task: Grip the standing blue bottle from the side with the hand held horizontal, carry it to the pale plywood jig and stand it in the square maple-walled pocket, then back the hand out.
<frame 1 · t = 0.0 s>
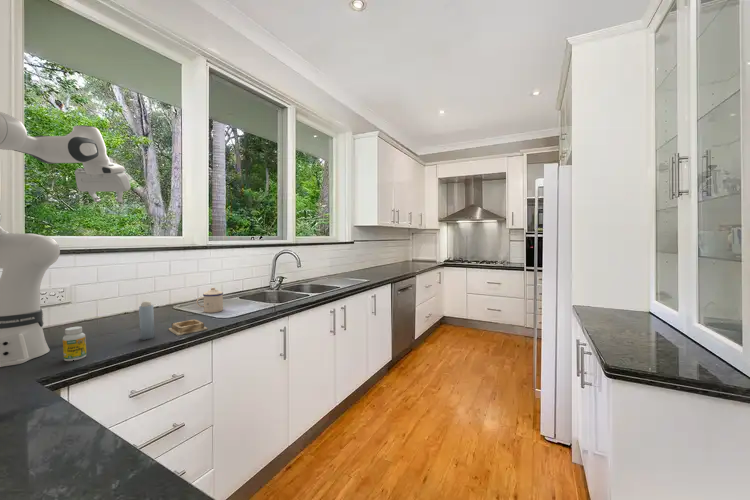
hand: (108, 201, 141), 52 cm above the table, tool tilted 20°, fingers open, 8 cm apart
blue bottle: (147, 337, 126), on the table
cradle jig: (187, 329, 136), on the table
supplement bottle: (75, 358, 106), on the table
teacup with lid: (210, 311, 168), on the table
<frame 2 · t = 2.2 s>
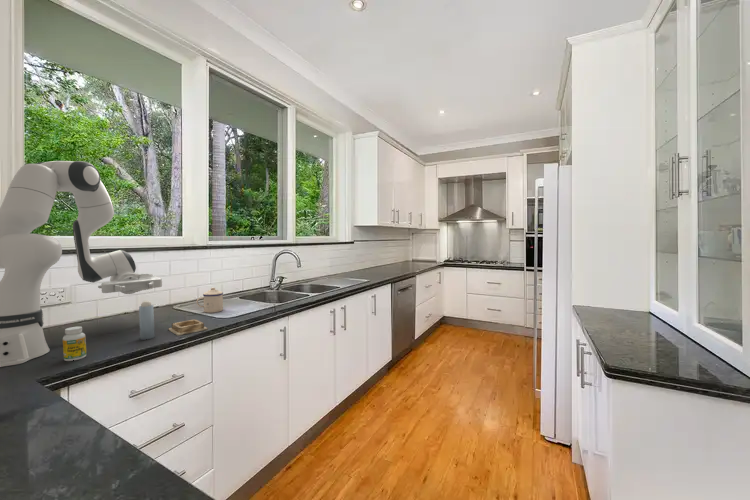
hand: (137, 287, 133), 18 cm above the table, tool horizontal, fingers open, 8 cm apart
nothing on the table moved.
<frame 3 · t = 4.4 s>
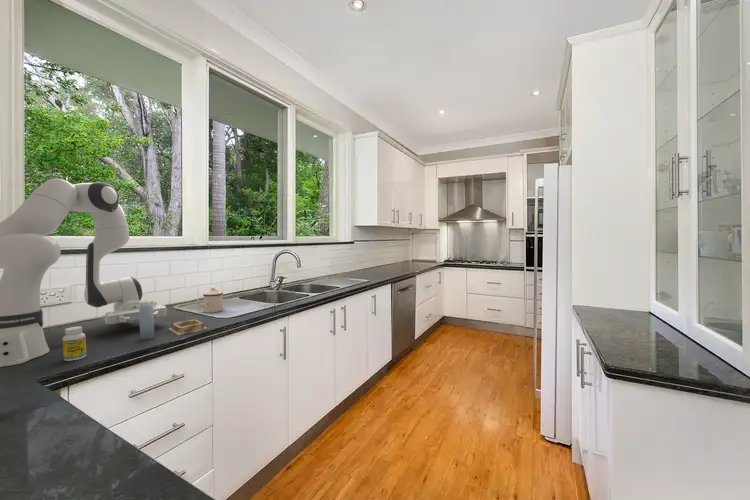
hand: (141, 317, 130), 6 cm above the table, tool horizontal, fingers open, 8 cm apart
nothing on the table moved.
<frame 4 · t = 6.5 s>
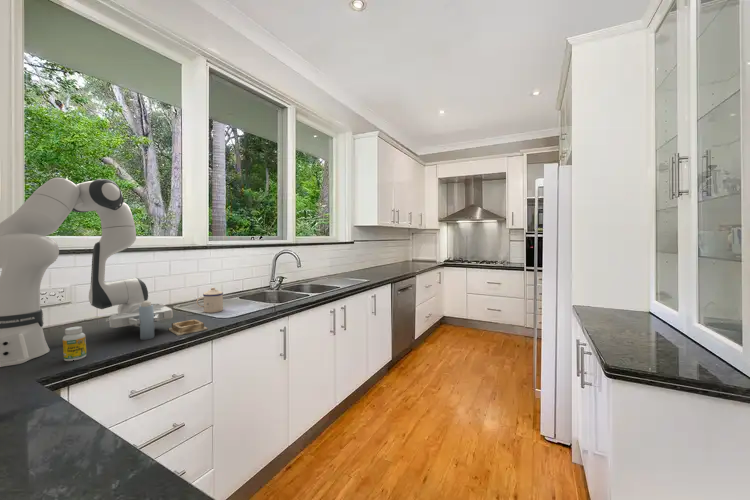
hand: (147, 320, 125), 7 cm above the table, tool horizontal, fingers closed on blue bottle, 4 cm apart
blue bottle: (147, 337, 126), on the table, touching gripper
everything else where it was.
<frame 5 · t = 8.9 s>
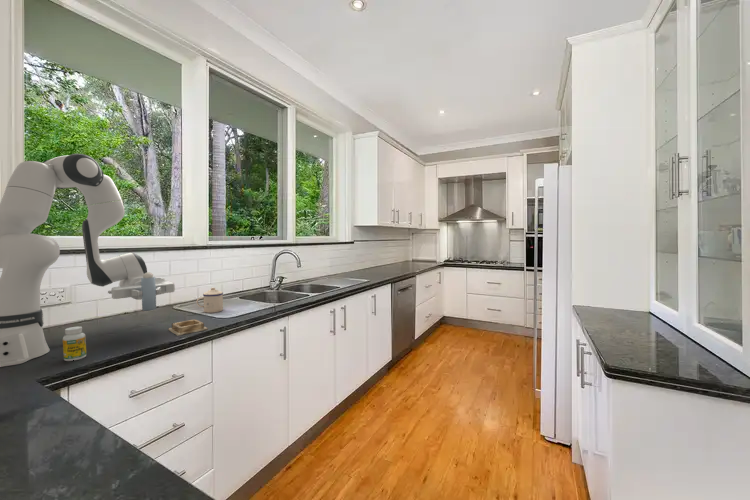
hand: (149, 292, 125), 17 cm above the table, tool horizontal, fingers closed on blue bottle, 4 cm apart
blue bottle: (149, 309, 126), point 10 cm above the table, touching gripper
everything else where it was.
when the fingers open (8 cm above the table, at t = 11.7 s): blue bottle drops 1 cm, resting on cradle jig.
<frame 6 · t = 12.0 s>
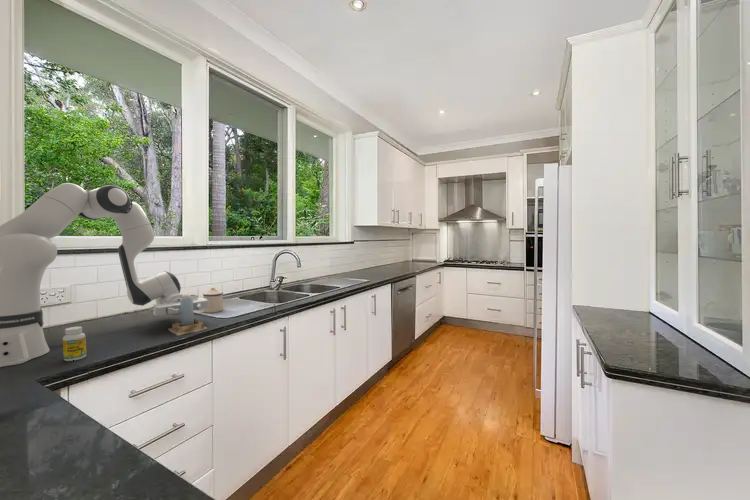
hand: (188, 309, 135), 8 cm above the table, tool horizontal, fingers open, 7 cm apart
blue bottle: (187, 328, 136), point 1 cm above the table, touching cradle jig
everything else where it was.
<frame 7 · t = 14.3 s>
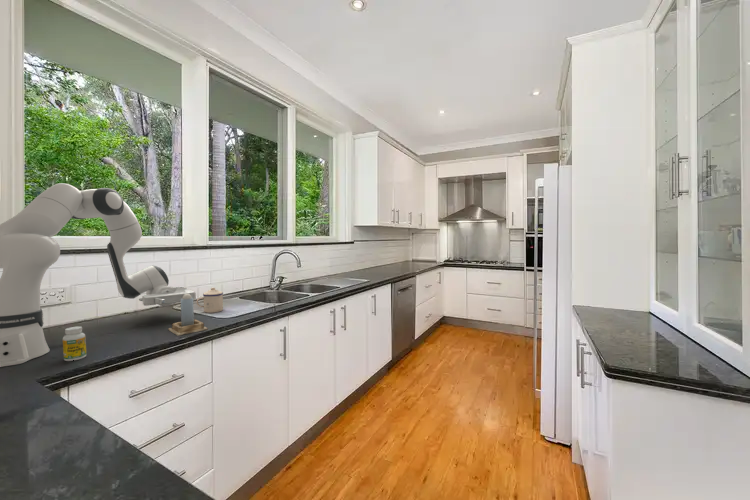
hand: (175, 300, 143), 10 cm above the table, tool horizontal, fingers open, 8 cm apart
nothing on the table moved.
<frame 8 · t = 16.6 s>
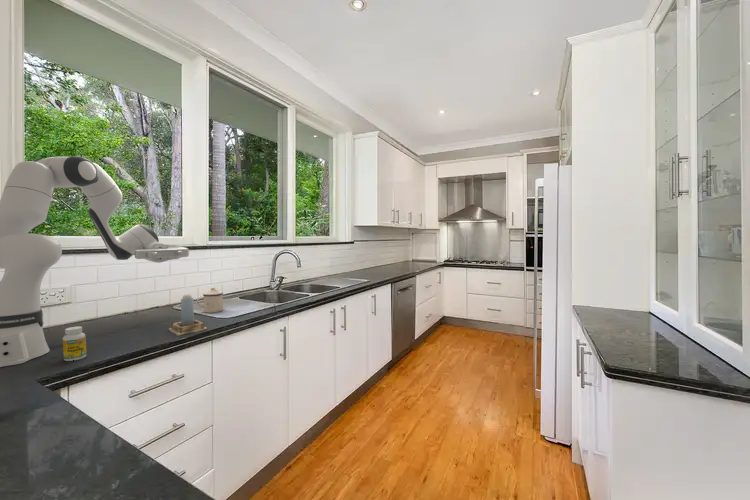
hand: (167, 254, 143), 30 cm above the table, tool horizontal, fingers open, 8 cm apart
nothing on the table moved.
at the end: blue bottle 0.0 cm off-centre on the cradle jig, point 0.6 cm above the cradle jig's base; blue bottle tilted 1°; the gripper is holding nothing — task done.
